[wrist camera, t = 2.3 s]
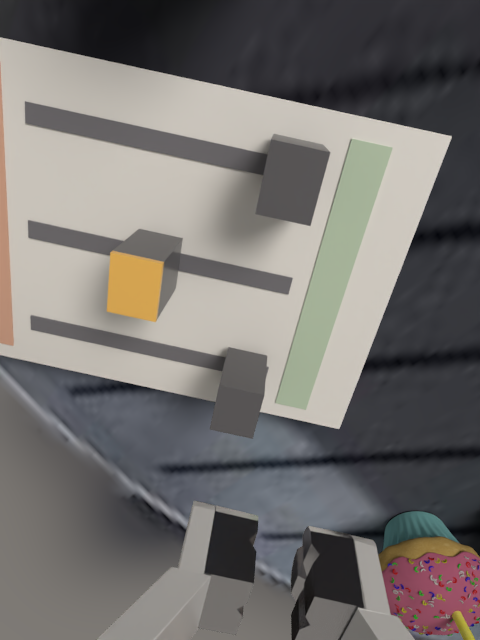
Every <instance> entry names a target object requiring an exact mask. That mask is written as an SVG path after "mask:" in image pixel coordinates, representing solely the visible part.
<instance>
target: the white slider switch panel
mask: <svg viewBox="0 0 480 640" xmlns="http://www.w3.org/2000/svg"><path fill="white" fill-rule="evenodd" d="M273 134H278V135H282V136H287V137H291V138H296V139H301V140H305V141H310V142H314V143H319V144H323V145H324V146H325V147H326V148H327V149H328V150H329V151H330V156H329V160H328V163H327V167H326V171H325V174H324V178H323V182H322V185H321V189H320V193H319V196H318V200H317V204H316V207H315V211H314V215H313V218H312V222H311V226H307V225H303V224H298V223H294V222H289V221H285V220H280V219H275V218H271V217H266V216H262V215H257V214H255V213H256V208H257V203H258V198H259V194H260V189H261V184H262V179H263V175H264V170H265V165H266V160H267V156H268V151H269V146H270V141H271V138H272V136H273ZM451 138H452V136H447V135H443V134H438V133H434V132H429V131H425V130H420V129H415V128H411V127H406V126H402V125H397V124H393V123H388V122H384V121H379V120H374V119H370V118H365V117H361V116H356V115H352V114H347V113H343V112H338V111H333V110H329V109H324V108H320V107H315V106H311V105H306V104H301V103H297V102H292V101H288V100H283V99H279V98H274V97H270V96H265V95H260V94H256V93H251V92H247V91H242V90H238V89H233V88H229V87H224V86H219V85H215V84H210V83H206V82H201V81H197V80H192V79H188V78H183V77H178V76H174V75H169V74H165V73H160V72H156V71H151V70H147V69H142V68H137V67H133V66H128V65H124V64H119V63H115V62H110V61H105V60H101V59H96V58H92V57H87V56H83V55H78V54H74V53H69V52H64V51H60V50H55V49H51V48H46V47H42V46H37V45H33V44H28V43H23V42H19V41H14V40H10V39H5V38H1V37H0V355H2V356H7V357H12V358H16V359H21V360H25V361H30V362H35V363H39V364H44V365H48V366H53V367H57V368H62V369H67V370H71V371H76V372H80V373H85V374H89V375H94V376H99V377H103V378H108V379H112V380H117V381H122V382H126V383H131V384H135V385H140V386H144V387H149V388H154V389H158V390H163V391H167V392H172V393H176V394H181V395H186V396H190V397H195V398H199V399H204V400H209V401H213V402H216V397H217V393H218V388H219V383H220V379H221V375H222V371H223V367H224V363H225V358H226V354H227V350H228V347H231V348H235V349H240V350H244V351H249V352H253V353H258V354H263V355H267V368H266V381H265V395H264V399H263V402H262V406H261V410H260V412H263V413H268V414H273V415H277V416H282V417H286V418H291V419H296V420H300V421H305V422H309V423H314V424H318V425H323V426H328V427H332V428H337V429H339V428H340V426H341V423H342V421H343V418H344V415H345V413H346V410H347V408H348V405H349V402H350V400H351V397H352V395H353V392H354V389H355V387H356V384H357V382H358V379H359V376H360V374H361V371H362V369H363V366H364V363H365V361H366V358H367V356H368V353H369V351H370V348H371V345H372V343H373V340H374V338H375V335H376V332H377V330H378V327H379V325H380V322H381V319H382V317H383V314H384V312H385V309H386V306H387V304H388V301H389V299H390V296H391V293H392V291H393V288H394V286H395V283H396V280H397V278H398V275H399V273H400V270H401V267H402V265H403V262H404V260H405V257H406V254H407V252H408V249H409V247H410V244H411V241H412V239H413V236H414V234H415V231H416V228H417V226H418V223H419V221H420V218H421V215H422V213H423V210H424V208H425V205H426V203H427V200H428V197H429V195H430V192H431V190H432V187H433V184H434V182H435V179H436V177H437V174H438V171H439V169H440V166H441V164H442V161H443V158H444V156H445V153H446V151H447V148H448V145H449V143H450V140H451ZM138 229H143V230H148V231H152V232H157V233H161V234H166V235H171V236H175V237H180V238H183V241H182V248H181V255H180V262H179V269H178V277H177V284H176V289H175V291H174V293H173V294H172V296H171V298H170V299H169V301H168V302H167V304H166V306H165V307H164V309H163V311H162V312H161V314H160V316H159V317H158V319H157V321H156V322H152V321H148V320H143V319H138V318H134V317H129V316H125V315H120V314H116V313H111V312H107V298H108V282H109V266H110V252H112V251H113V250H114V249H115V248H116V247H118V246H119V245H120V244H121V243H122V242H124V241H125V240H126V239H127V238H128V237H130V236H131V235H132V234H133V233H134V232H136V231H137V230H138Z"/></svg>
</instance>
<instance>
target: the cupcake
mask: <svg viewBox="0 0 480 640" xmlns="http://www.w3.org/2000/svg"><path fill="white" fill-rule="evenodd" d="M378 556H379V561H380V566H381V571H382V575H383V580H384V585H385V590H386V594H387V599H388V604H389V609H390V613H391V615H394V616H398V618H399V619H400V620H401V622H402V623H403V624H404V626H405V627H406V628H407V629H408V631H410V630H412V631H415V632H418V633H419V634H426V635H431V634H435V635H448V636H451V635H452V634H453V633H459V631H460V633H461V635H462V637H463V639H464V640H475V639H474V637H473V635H472V633H471V631H470V629H469V627H470V626H474V625H475V624H477V623H479V622H478V620H479V619H480V556H479V555H478V554H477V553H476V552H475V550H474V549H473V548H471V547H469V546H467V545H462V544H460V543H459V542H458V541H457V540H456V538H455V537H454V536H453V535H452V534H451V532H450V531H449V530H448V529H447V527H446V526H445V525H444V523H443V522H442V521H441V520H440V519H439V518H438V517H436V516H435V515H433V514H430V513H427V512H422V511H411V512H405V513H402V514H399V515H397V516H396V517H394V518H393V519H391V520H390V521H389V523H388V524H387V526H386V528H385V535H384V545H383V550H382V552H381V553H380V554H379V555H378Z"/></svg>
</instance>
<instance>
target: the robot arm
mask: <svg viewBox="0 0 480 640" xmlns="http://www.w3.org/2000/svg"><path fill="white" fill-rule="evenodd" d="M257 531H258V516H256V515H252V514H248V513H244V512H240V511H236V510H232V509H228V508H224V507H220V506H216V507H215V505H211V504H207V503H202V502H198V501H194V503H193V506H192V509H191V513H190V517H189V522H188V526H187V530H186V534H185V539H184V543H183V547H182V551H181V556H180V560H179V564H178V568H174V567H170V568H169V569H168V570H167V571H166V572H165V573H164V574H163V575H162V576H161V577H160V578H159V579H158V580H157V581H156V582H155V583H154V584H153V585H152V586H151V587H150V588H149V589H148V590H147V591H146V592H145V593H144V594H143V595H142V596H141V597H140V598H139V599H138V600H137V601H136V602H134V603H133V604H132V605H131V606H130V607H129V608H128V609H127V610H126V611H125V612H124V613H123V614H122V615H121V616H120V617H119V618H118V619H117V620H116V621H115V622H114V623H113V624H112V625H111V626H110V627H109V628H108V629H107V630H106V631H105V632H104V633H103V634H102V635H101V636H100V637H99V638H97V639H96V640H190V639H191V638H192V637H193V635H194V634H195V633H196V631H197V628H201V629H206V630H211V631H216V632H222V633H227V634H232V635H236V634H237V631H238V628H239V625H240V622H241V620H242V616H243V606H244V605H246V604H247V602H248V599H249V596H250V593H251V590H252V587H253V584H254V573H255V560H256V550H255V549H254V547H253V545H254V541H255V538H256V535H257ZM302 540H303V546H302V547H300V548H298V549H297V552H296V554H295V557H294V561H293V567H292V573H291V594H292V596H293V598H294V599H295V601H296V603H295V607H294V608H293V611H292V614H291V635H292V640H415V639H414V638H413V637H412V635H411V634H410V633H409V631H408V630H407V628H406V627H405V626H404V624H403V623H402V622H401V620H400V619H399V618H398V616H394V615H391V613H390V609H389V604H388V599H387V594H386V590H385V585H384V580H383V575H382V571H381V566H380V561H379V556H378V552H377V547H376V544H375V542H374V541H373V540H371V539H366V538H361V537H357V536H352V535H349V534H345V533H340V532H335V531H330V530H325V529H321V528H316V527H311V526H308V527H307V528H306V529H305V531H304V534H303V536H302Z"/></svg>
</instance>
